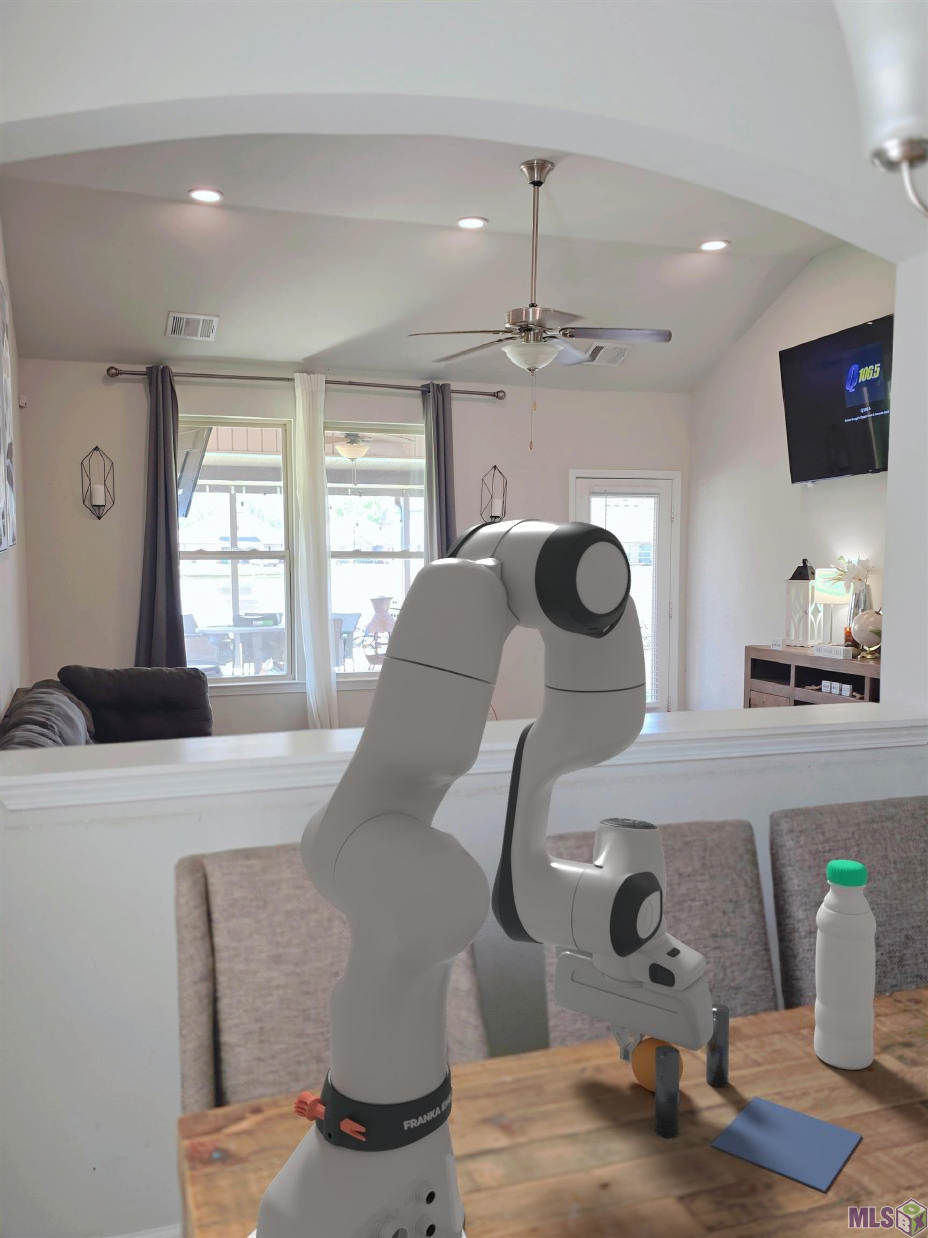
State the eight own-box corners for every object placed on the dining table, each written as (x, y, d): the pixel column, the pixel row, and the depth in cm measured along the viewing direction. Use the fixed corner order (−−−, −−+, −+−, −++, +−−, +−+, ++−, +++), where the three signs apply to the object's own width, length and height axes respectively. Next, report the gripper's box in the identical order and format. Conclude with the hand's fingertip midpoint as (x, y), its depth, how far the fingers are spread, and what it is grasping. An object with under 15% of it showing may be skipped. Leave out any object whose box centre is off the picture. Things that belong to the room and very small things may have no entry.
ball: (658, 1111, 109) (672, 1065, 108) (616, 1079, 113) (629, 1035, 112) (684, 1093, 113) (698, 1049, 112) (643, 1063, 117) (656, 1021, 116)
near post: (672, 1141, 102) (672, 1060, 102) (650, 1132, 104) (651, 1052, 103) (682, 1130, 104) (683, 1050, 104) (661, 1121, 106) (662, 1043, 105)
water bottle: (879, 1075, 115) (883, 874, 114) (818, 1069, 117) (822, 870, 116) (866, 1047, 122) (870, 857, 121) (809, 1041, 124) (812, 853, 122)
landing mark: (824, 1192, 93) (824, 1190, 93) (711, 1146, 101) (711, 1144, 101) (862, 1136, 103) (862, 1135, 103) (755, 1098, 110) (755, 1096, 110)
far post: (722, 1089, 112) (723, 1016, 112) (702, 1082, 114) (703, 1009, 113) (731, 1080, 114) (732, 1008, 114) (711, 1073, 116) (712, 1002, 115)
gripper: (542, 938, 118) (544, 1044, 119) (696, 981, 105) (696, 1100, 106) (569, 922, 123) (570, 1024, 124) (718, 961, 110) (718, 1075, 111)
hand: (629, 1059), depth 115 cm, fingers closed
